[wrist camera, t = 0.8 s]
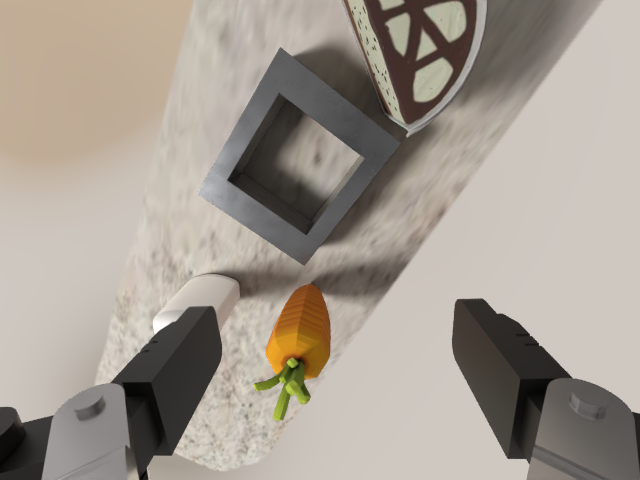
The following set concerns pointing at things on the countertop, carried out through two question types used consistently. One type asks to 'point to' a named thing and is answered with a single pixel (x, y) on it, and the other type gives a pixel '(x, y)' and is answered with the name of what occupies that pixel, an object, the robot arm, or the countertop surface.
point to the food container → (417, 52)
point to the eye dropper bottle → (201, 299)
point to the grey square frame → (226, 174)
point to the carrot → (298, 346)
